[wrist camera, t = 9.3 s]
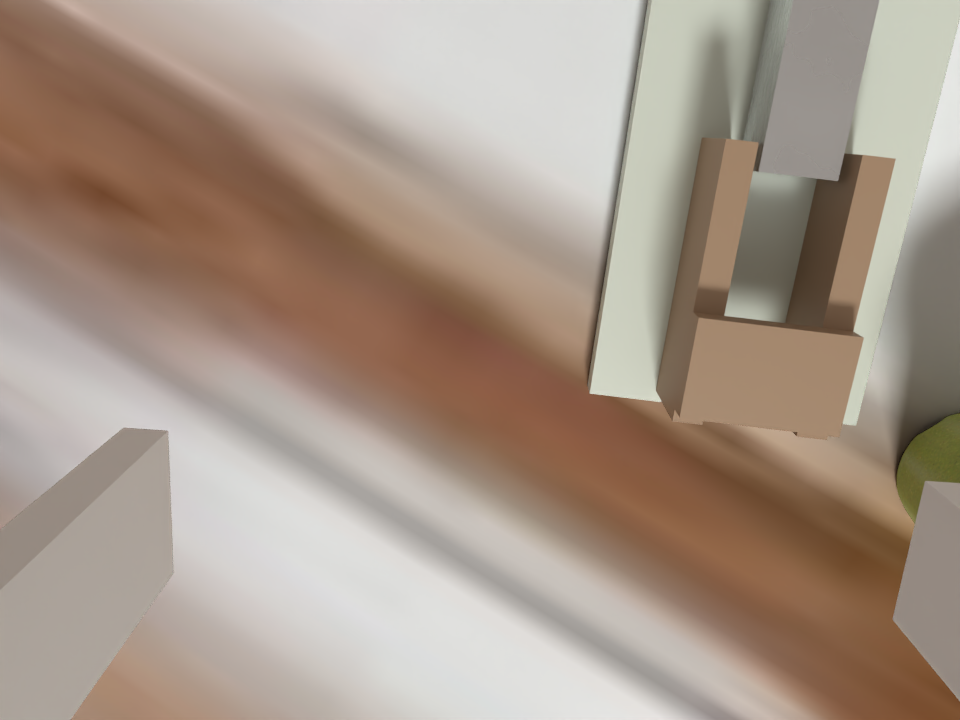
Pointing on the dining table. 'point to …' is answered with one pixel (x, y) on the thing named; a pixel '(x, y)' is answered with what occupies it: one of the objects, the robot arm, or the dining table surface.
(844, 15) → the slide bar
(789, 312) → the board
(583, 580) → the dining table surface
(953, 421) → the plant pot
